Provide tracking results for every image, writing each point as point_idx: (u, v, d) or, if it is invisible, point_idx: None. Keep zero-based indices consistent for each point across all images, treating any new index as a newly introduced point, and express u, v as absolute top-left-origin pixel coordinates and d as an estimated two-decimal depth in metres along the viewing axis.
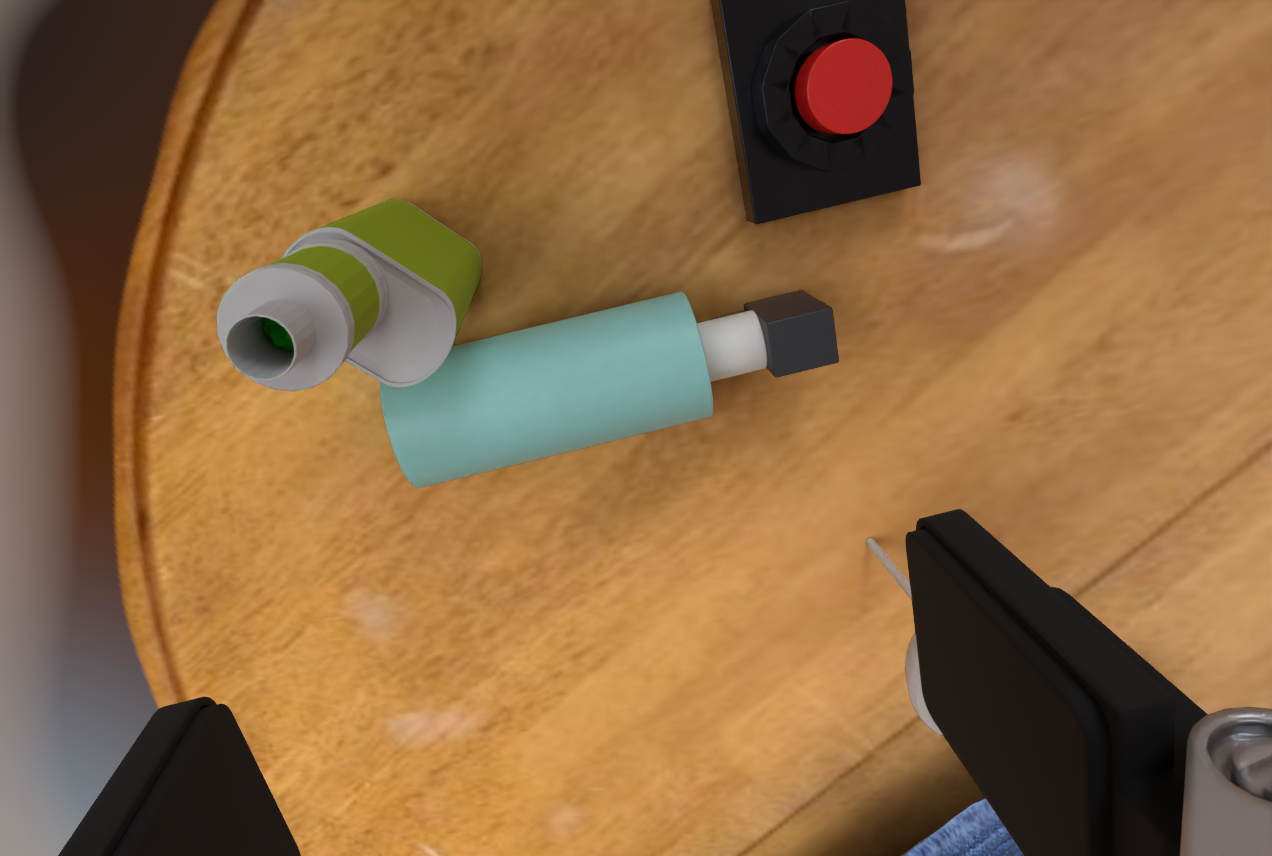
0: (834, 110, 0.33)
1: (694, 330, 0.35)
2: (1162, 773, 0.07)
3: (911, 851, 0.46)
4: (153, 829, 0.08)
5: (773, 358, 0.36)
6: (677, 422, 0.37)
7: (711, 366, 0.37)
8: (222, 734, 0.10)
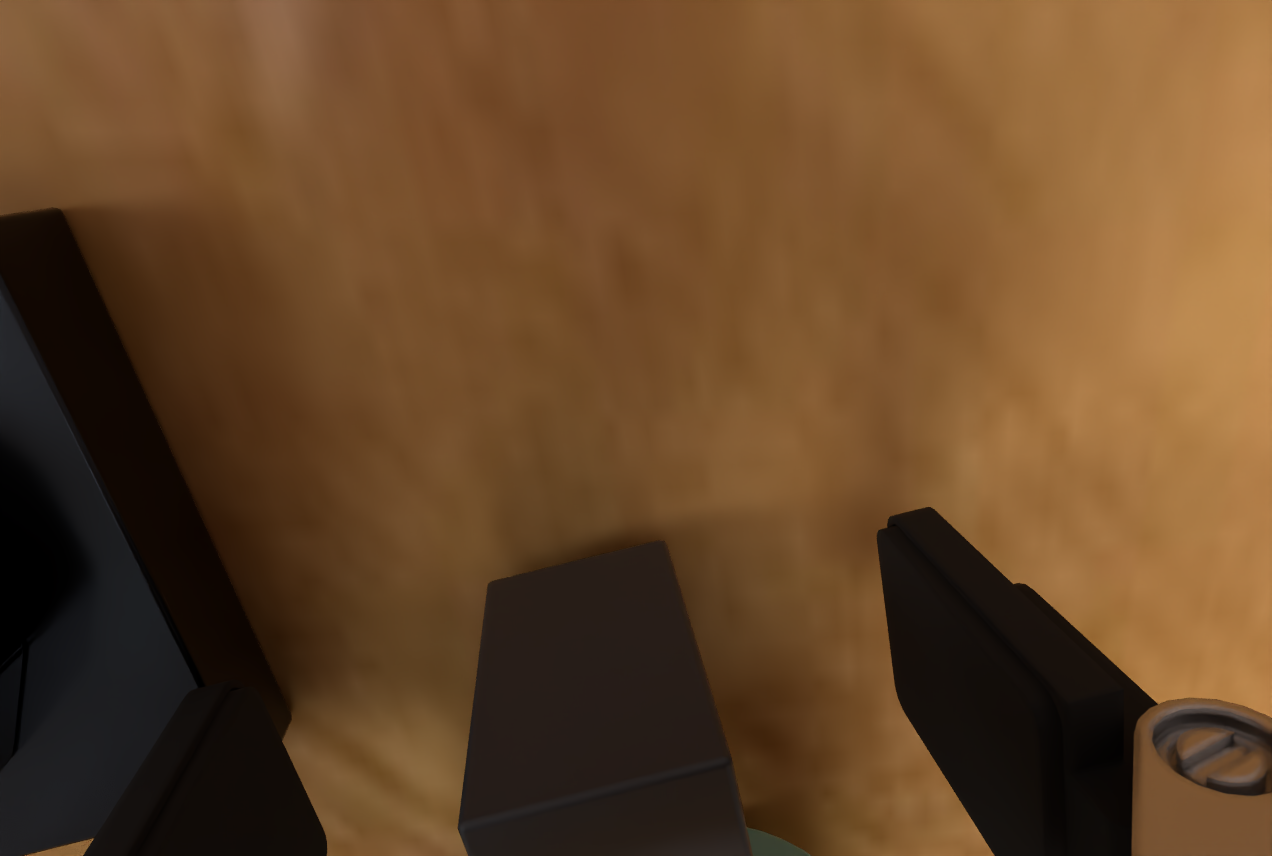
0: None
1: None
2: (1113, 763, 0.07)
3: None
4: (190, 805, 0.09)
5: None
6: None
7: None
8: (252, 715, 0.10)
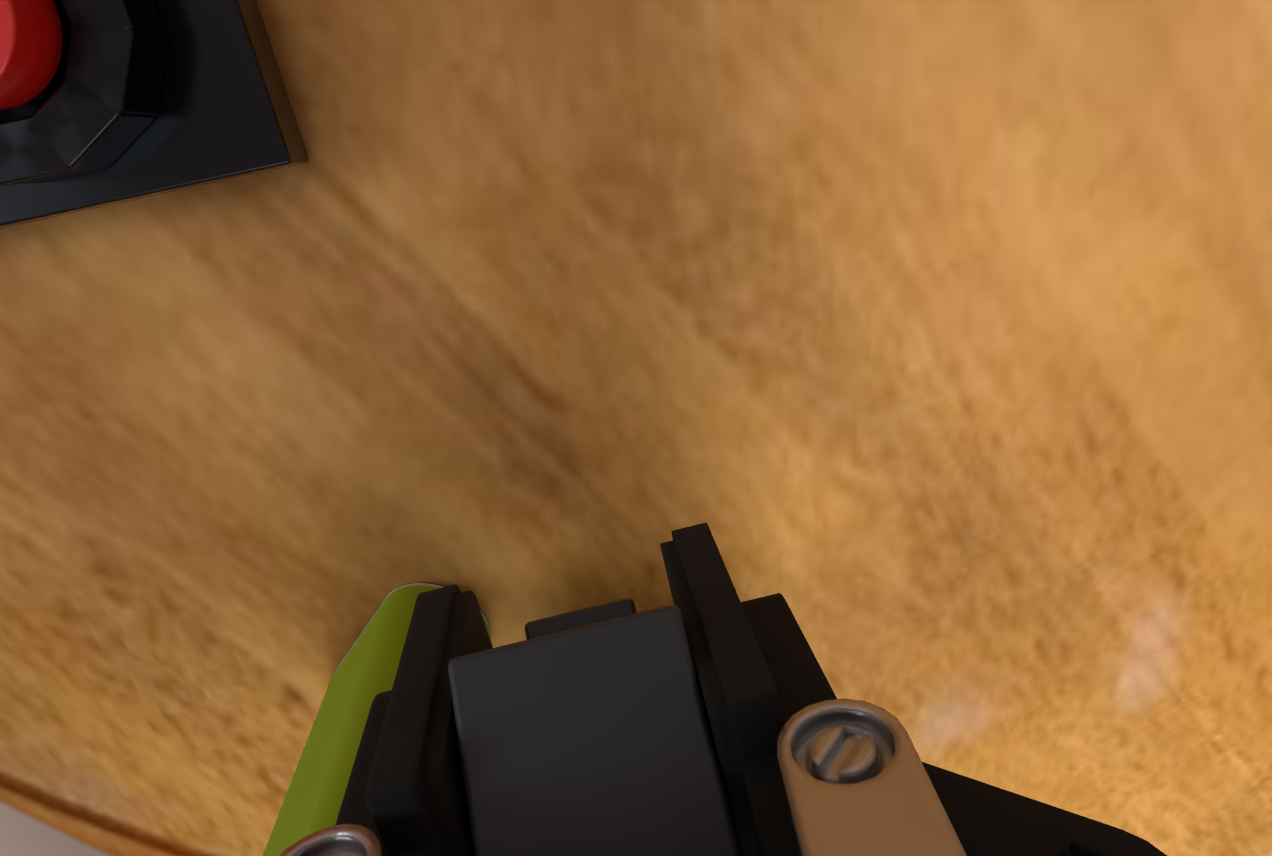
0: None
1: None
2: None
3: None
4: None
5: None
6: None
7: None
8: (475, 616, 0.11)
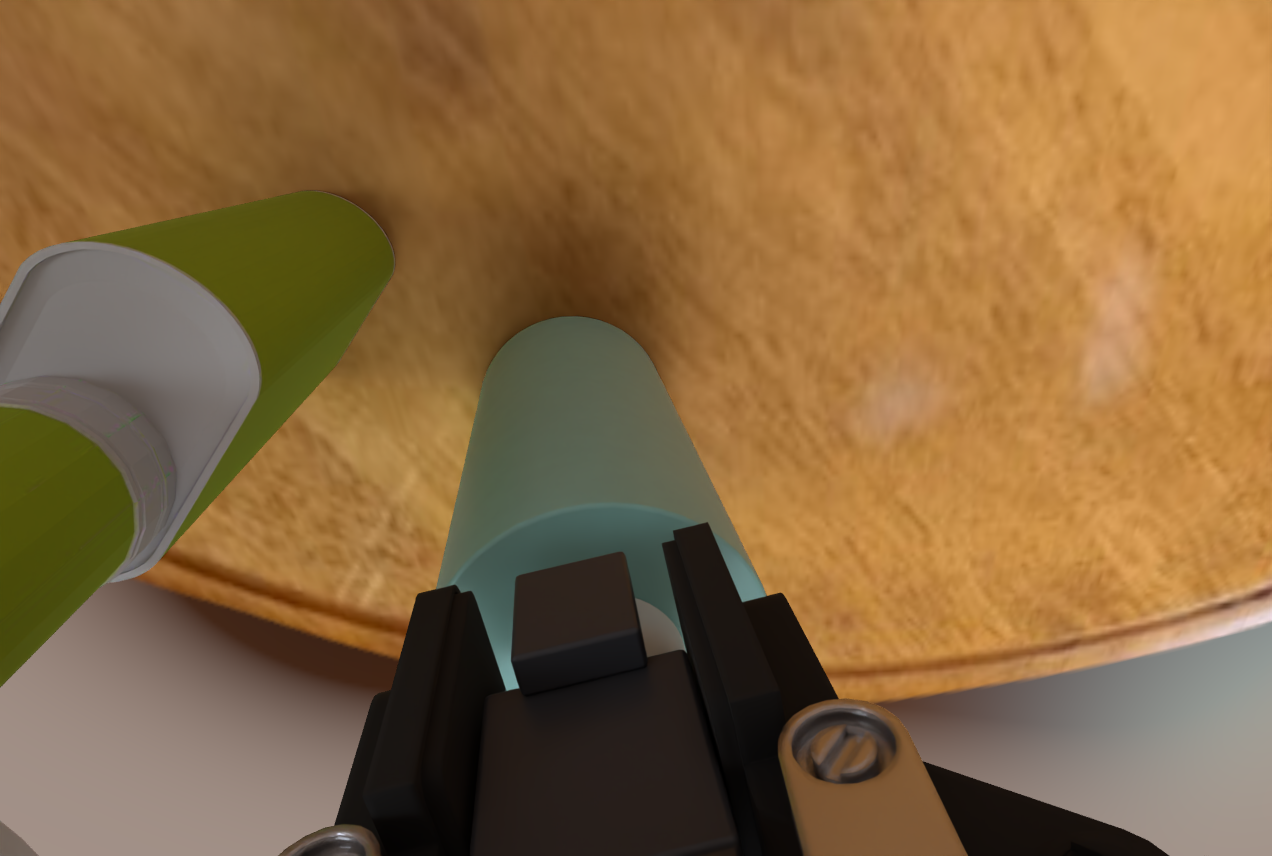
0: None
1: None
2: None
3: None
4: (458, 679, 0.10)
5: None
6: None
7: None
8: (474, 616, 0.11)
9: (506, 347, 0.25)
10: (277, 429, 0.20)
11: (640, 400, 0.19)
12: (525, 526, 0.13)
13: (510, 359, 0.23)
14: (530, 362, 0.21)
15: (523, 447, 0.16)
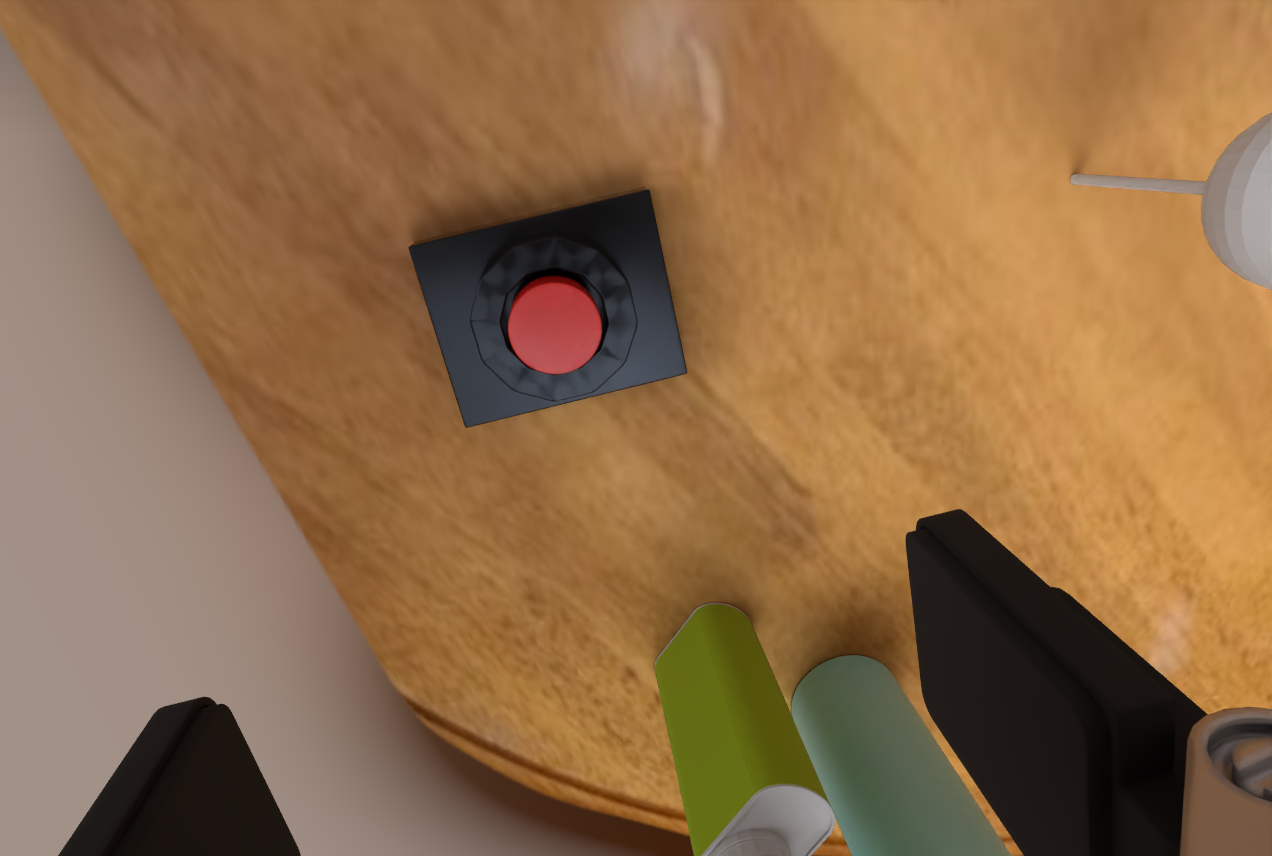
0: (579, 343, 0.31)
1: None
2: (1160, 773, 0.07)
3: None
4: (153, 829, 0.08)
5: None
6: None
7: None
8: (222, 734, 0.10)
9: (816, 679, 0.43)
10: None
11: (938, 763, 0.36)
12: None
13: (832, 701, 0.41)
14: (856, 717, 0.39)
15: (908, 816, 0.34)
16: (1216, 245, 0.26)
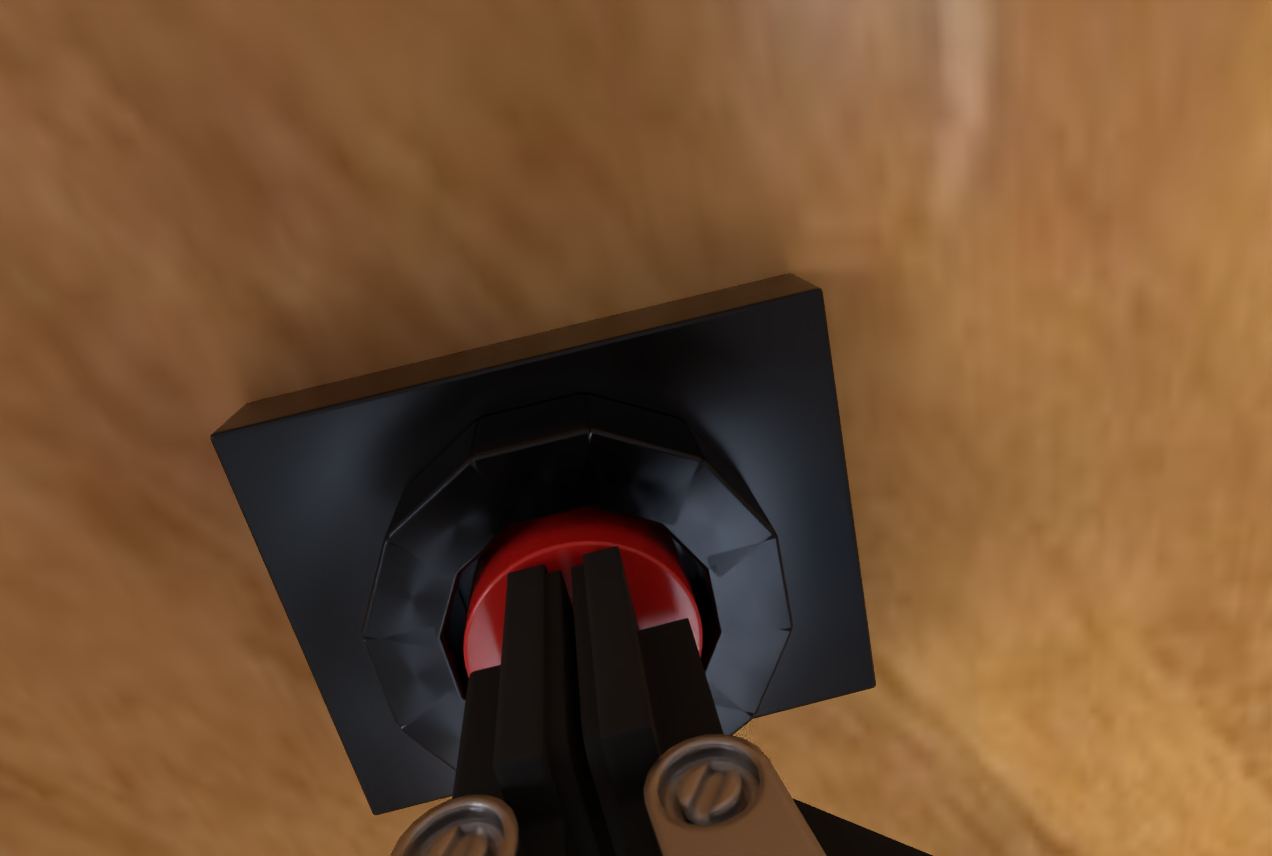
0: None
1: None
2: None
3: None
4: (564, 654, 0.10)
5: None
6: None
7: None
8: (565, 595, 0.11)
9: None
10: None
11: None
12: None
13: None
14: None
15: None
16: None
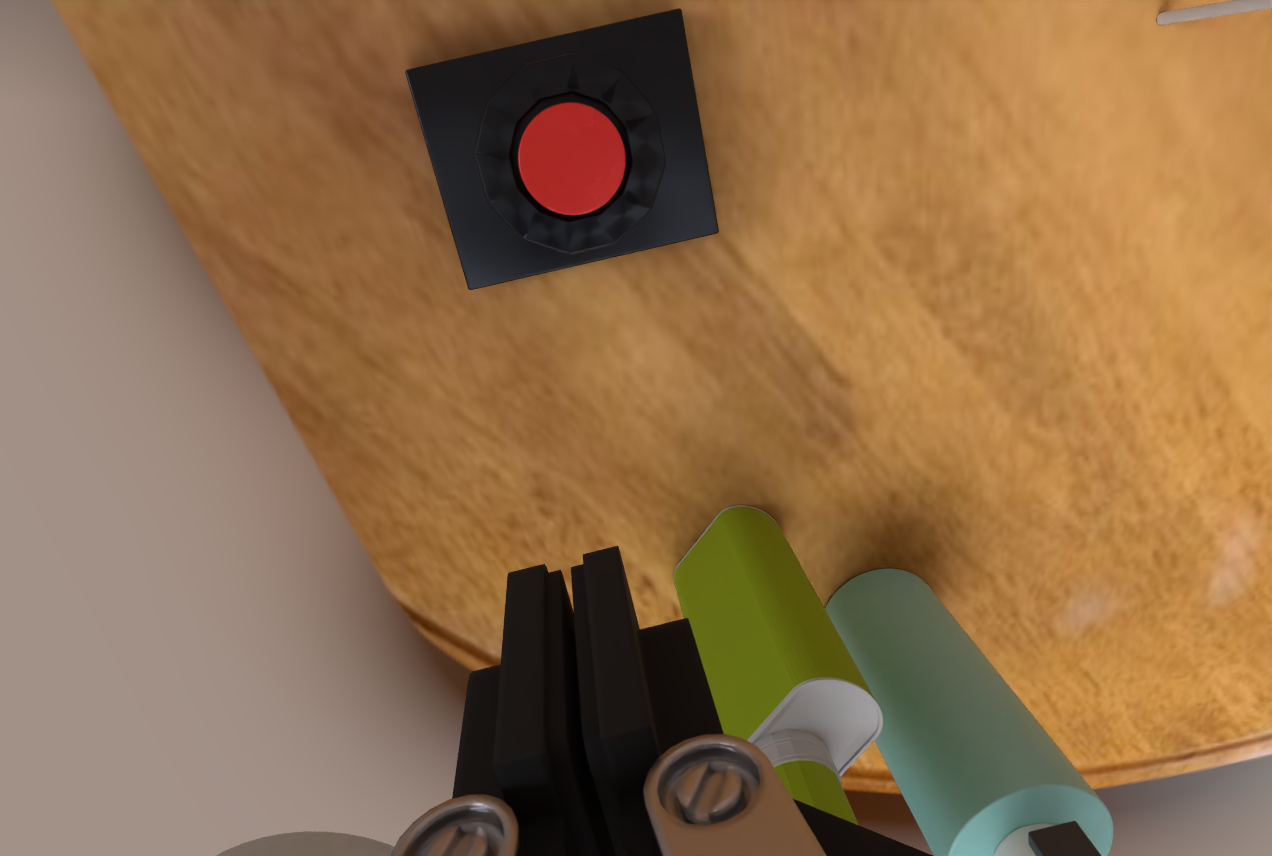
0: (599, 178, 0.27)
1: None
2: None
3: None
4: (564, 654, 0.10)
5: None
6: None
7: None
8: (565, 595, 0.11)
9: (849, 593, 0.39)
10: None
11: (990, 674, 0.33)
12: (1010, 796, 0.27)
13: (869, 614, 0.37)
14: (897, 628, 0.36)
15: (960, 726, 0.30)
16: None
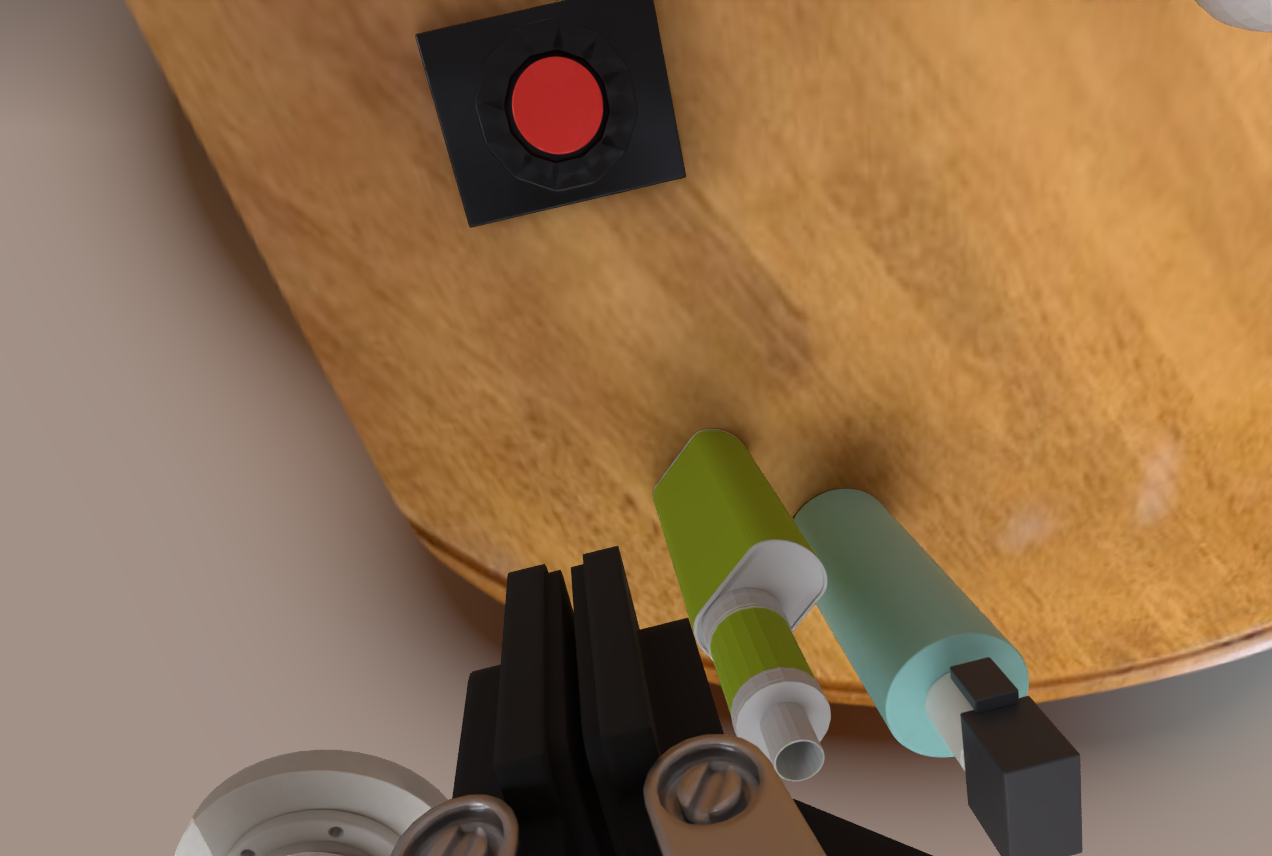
0: (581, 122, 0.32)
1: None
2: None
3: None
4: (564, 654, 0.10)
5: None
6: None
7: None
8: (565, 595, 0.11)
9: (811, 509, 0.44)
10: None
11: (929, 562, 0.37)
12: (937, 643, 0.31)
13: (826, 523, 0.42)
14: (850, 531, 0.40)
15: (899, 597, 0.35)
16: None
